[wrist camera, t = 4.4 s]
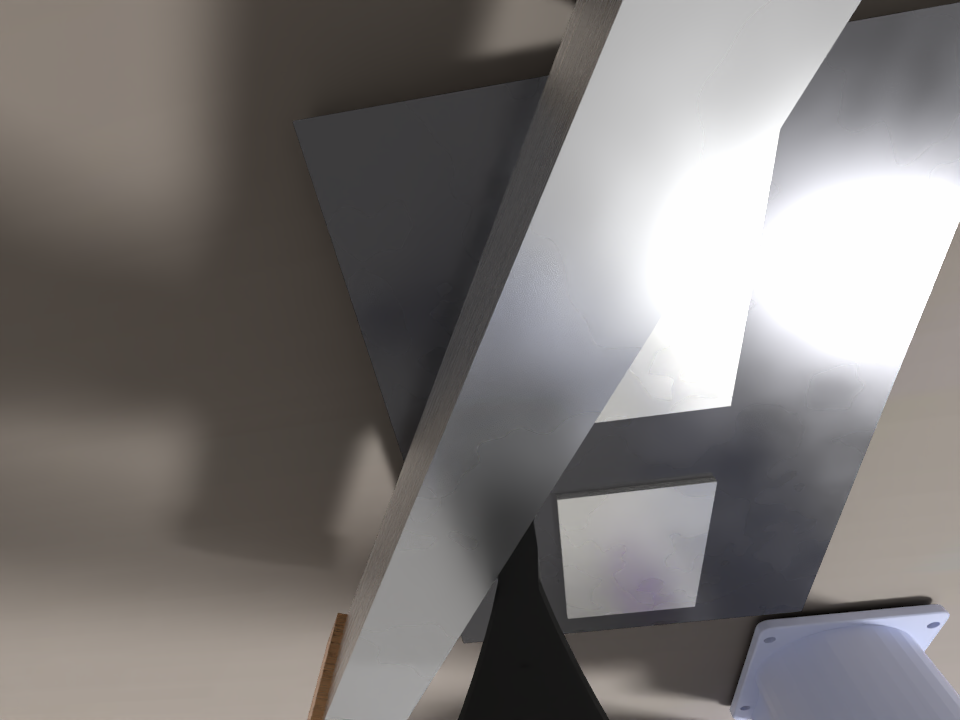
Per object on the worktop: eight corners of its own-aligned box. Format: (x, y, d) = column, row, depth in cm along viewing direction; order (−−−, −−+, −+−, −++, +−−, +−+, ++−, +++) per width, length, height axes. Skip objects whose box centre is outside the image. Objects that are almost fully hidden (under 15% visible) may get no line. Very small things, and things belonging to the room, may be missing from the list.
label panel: (787, 587, 19) (830, 656, 17) (464, 619, 20) (462, 689, 18) (1095, -280, 7) (1405, -465, 5) (241, -97, 8) (146, -176, 6)
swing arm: (403, 656, 16) (388, 773, 13) (324, 643, 15) (292, 763, 13) (881, -242, 5) (1330, -607, 2) (678, -384, 5) (966, -1045, 2)
